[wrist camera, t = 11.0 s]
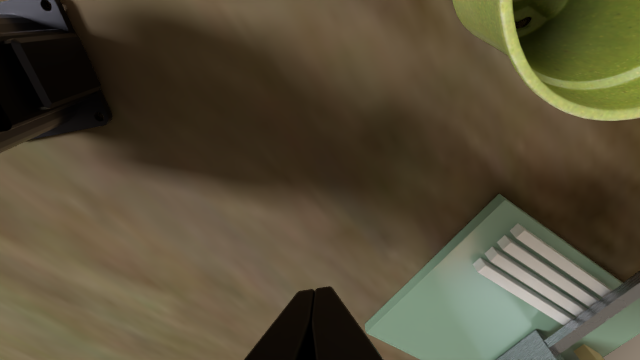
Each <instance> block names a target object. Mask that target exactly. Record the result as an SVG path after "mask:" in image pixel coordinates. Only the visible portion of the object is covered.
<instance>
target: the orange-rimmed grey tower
mask: <svg viewBox="0 0 640 360" xmlns="http://www.w3.org/2000/svg"><path fill="white" fill-rule="evenodd" d="M639 298H640V271H639V272H637V273H636V274H635V275H633V276H632V277H631V278H629V279H628V280H626V281H625V282H624V283H622V284H621V285H620V286H618V287H617V288H615V289H614V290H613V291H611V292H610V293H609V294H607V295H606V296H605V297H603V298H602V299H600V300H599V301H598V302H596V303H595V304H594V305H592V306H591V307H590V308H588V309H587V310H585V311H584V312H583V313H581V314H580V315H579V316H577V317H576V318H575V319H573V320H572V321H570V322H569V323H568V324H566V325H565V326H564V327H562V328H561V329H559V330H558V331H557V332H555V333H554V334H553V335H551V336H550V337H549V338H548V337H547V336H545V335H543V334H541V333H540V332H538V331H536V330H535V331H534V332H532V333H531V334H530V335H528V336H527V337H526V338H524V339H523V340H522V341H520V342H519V343H518V344H516V345H515V346H514V347H512V348H511V349H510V350H508V351H507V352H506V353H504V354H503V355H502V356H500V357H499V358H498V359H496V360H564V359H563V357H562V356H561V354H560V353H562V352H563V351H565V350H566V349H568V348H569V347H570V346H572V345H573V344H575V343H576V342H577V341H579V340H580V339H582V338H583V337H585V336H586V335H587V334H589V333H590V332H592V331H593V330H595V329H596V328H597V327H599V326H600V325H602V324H603V323H605V322H606V321H607V320H609V319H610V318H612V317H613V316H615V315H616V314H617V313H619V312H620V311H622V310H623V309H625V308H626V307H627V306H629V305H630V304H632V303H633V302H634V301H636V300H637V299H639Z"/></svg>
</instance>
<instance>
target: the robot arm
mask: <svg viewBox="0 0 640 360" xmlns="http://www.w3.org/2000/svg"><path fill="white" fill-rule="evenodd" d="M48 1H49V2H50V3H51V5H52V9H51V10H49V9H48V8H47V6H46V2H47V0H8V1H3V2H0V153H1V152H3V151H6V150H8V149H10V148H12V147H14V146H17V145H19V144H21V143H23V142H25V141H27V140H30V139H35V138H40V137H46V136H51V135H56V134H61V133H67V132H72V131H77V130H83V129H88V128H93V127H99V126H103V125H106V124H108V123H109V122H110V121H111V120H112V113H111V111H110V109H109V107H108V104H107V102H106V100H105V98H104V96H103V93H102V91H101V89H100V82H99V80H98V78H97V76H96V74H95V71H94V69H93V67H92V65H91V63H90V60H89V58H88V56H87V54H86V52H85V49H84V47H83V45H82V43H81V40H80V38H79V37H78V36H76V34H75V32H74V30H73V28H72V25H71V23H70V21H69V19H68V17H67V14H66V12H65V10H64V8H63V6H62V3H61V2H60V0H48ZM98 112H99V113H101V114H102V115H103V116H104V119H101V118H100V117H99V116H98ZM244 360H383V358H382V357H381V355H380V354H379V353H378V351H377V350H376V348H375V347H374V346H373V344H372V343H371V341H370V340H369V339H368V337H367V336H366V334H365V333H364V332H363V330H362V329H361V327H360V326H359V325H358V323H357V322H356V320H355V319H354V318H353V316H352V315H351V313H350V312H349V311H348V309H347V308H346V306H345V305H344V304H343V302H342V301H341V299H340V298H339V297H338V295H337V294H336V292H335V291H334V290H333V288H332V287H330V286H329V287H322V288H317V289H316V290H315V291H314V290H313V289H309V290H303V291H299V292H297V293H296V295H295V296H294V297H293V299H292V300H291V301H290V302H289V304H288V305H287V306H286V307H285V309H284V310H283V311H282V312H281V314H280V315H279V316H278V317H277V319H276V320H275V321H274V322H273V324H272V325H271V326H270V328H269V329H268V330H267V331H266V333H265V334H264V335H263V336H262V338H261V339H260V340H259V341H258V343H257V344H256V345H255V346H254V348H253V349H252V350H251V351H250V353H249V354H248V355H247V357H246V358H245V359H244Z"/></svg>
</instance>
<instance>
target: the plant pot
mask: <svg viewBox="0 0 640 360" xmlns="http://www.w3.org/2000/svg"><path fill="white" fill-rule="evenodd" d="M453 5H454V8H455V11H456V14H457V16H458V18H459V19H460V21H461V23H462V24H463V25H464V26H465V28H466V29H468V30H469V31H470V32H471V33H472V34H473V35H475V36H476V37H478V38H479V39H481V40H483V41H484V42H486V43H488V44H490V45H491V46H493V47H495V48H496V49H498V50H500V51H501V52H503V53H505V54H506V55H508V56H509V58H510V60H511V62H512V64H513V66H514V68H515V70H516V72H517V73H518V74H519V76H520V77H521V78H522V80H523V81H524V82H525V84H526V85H527V86H528V87H529V88H530V89H531V90H532V91H533V92H534V93H535V94H536V95H537V96H538V97H540V98H541V99H543V100H544V101H546V102H547V103H549V104H550V105H552V106H554V107H556V108H557V109H559V110H561V111H563V112H566V113H568V114H571V115H574V116H578V117H581V118H585V119H592V120H603V121H618V120H628V119H635V118H640V0H453ZM526 17H531V21H530V22H529V23H528V24H527V25H526V26H524V27H522V28H518V29H516V27H515V22H518V21H521V20H523V19H524V18H526Z"/></svg>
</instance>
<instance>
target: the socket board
mask: <svg viewBox="0 0 640 360" xmlns="http://www.w3.org/2000/svg"><path fill="white" fill-rule="evenodd" d="M622 283H623V282H621V281H620V280H618V279H617V278H616V277H614V276H613V275H611V274H610V273H609V272H607V271H606V270H605V269H603V268H602V267H600V266H599V265H598V264H596V263H595V262H593V261H592V260H591V259H589V258H588V257H586V256H585V255H584V254H582V253H581V252H580V251H578V250H577V249H575V248H574V247H573V246H571V245H570V244H568V243H567V242H566V241H564V240H563V239H562V238H560V237H559V236H557V235H556V234H555V233H553V232H552V231H550V230H549V229H548V228H546V227H545V226H544V225H542V224H541V223H539V222H538V221H537V220H535V219H534V218H532V217H531V216H530V215H528V214H527V213H526V212H524V211H523V210H521V209H520V208H519V207H517V206H516V205H514V204H513V203H512V202H510V201H509V200H507V199H506V198H505V197H503V196H502V195H501V194H498V195H497V196H496V197H495V198H494V199H493V200H492V201H491V202H490V203H489V204H488V205H487V206H486V207H485V208H484V209H483V210H482V211H481V212H480V213H479V214H478V215H477V216H475V217H474V218H473V219H472V220H471V221H470V222H469V223H468V224H467V225H466V226H465V227H464V228H463V229H462V230H461V231H460V232H459V233H458V234H457V235H456V236H455V237H454V238H453V239H452V240H451V241H450V242H449V243H448V244H447V245H446V246H445V247H444V248H443V249H442V250H441V251H440V252H439V253H437V254H436V255H435V256H434V257H433V258H432V259H431V260H430V261H429V262H428V263H427V264H426V265H425V266H424V267H423V268H422V269H421V270H420V271H419V272H418V273H417V274H416V275H415V276H414V277H413V278H412V279H411V280H410V281H409V282H408V283H407V284H406V285H405V286H404V287H403V288H402V289H401V290H400V291H398V292H397V293H396V294H395V295H394V296H393V297H392V298H391V299H390V300H389V301H388V302H387V303H386V304H385V305H384V306H383V307H382V308H381V309H380V310H379V311H378V312H377V313H376V314H375V315H374V316H373V317H372V318H371V319H370V320H369V321H368V322H367V323H366V324H365V329H366V333H367V334H369V335H371V336H373V337H376V338H378V339H380V340H382V341H384V342H386V343H388V344H390V345H392V346H394V347H396V348H398V349H400V350H402V351H404V352H406V353H408V354H410V355H412V356H414V357H416V358H418V359H420V360H496V359H498V358H499V357H500V356H502V355H503V354H504V353H506V352H507V351H508V350H510V349H511V348H512V347H514V346H515V345H516V344H518V343H519V342H520V341H522V340H523V339H524V338H526V337H527V336H528V335H530V334H531V333H532V332H534V331H535V330H536V331H538V332H540V333H541V334H543V335H545V336H547V337H548V338H549V337H550V336H551V335H553V334H554V333H555V332H557V331H558V330H559V329H561V328H562V327H564V326H565V325H566V324H568V323H569V322H570V321H572V320H573V319H575V318H576V317H577V316H579V315H580V314H581V313H583V312H584V311H585V310H587V309H588V308H590V307H591V306H592V305H594V304H595V303H596V302H598V301H599V300H600V299H602V298H603V297H605V296H606V295H607V294H609V293H610V292H611V291H613V290H614V289H615V288H617V287H618V286H620V285H621V284H622ZM639 333H640V298H639V299H637V300H636V301H634V302H633V303H632V304H630V305H629V306H627V307H626V308H625V309H623V310H622V311H620V312H619V313H617V314H616V315H615V316H613V317H612V318H610V319H609V320H607V321H606V322H605V323H603V324H602V325H600V326H599V327H597V328H596V329H595V330H593V331H592V332H590V333H589V334H587V335H586V336H585V337H583V338H582V339H580V340H579V341H577V342H576V343H575V344H573V345H572V346H570V347H569V348H568V349H566V350H565V351H563V352H562V353H560V354H561V356H562V357H563V359H564V360H604V359H603V357H604V356H606V355H608V354H609V353H611V352H612V351H614V350H615V349H616V348H618V347H620V346H621V345H622V344H624V343H625V342H627V341H629V340H630V339H632V338H633V337H635V336H636V335H638V334H639Z"/></svg>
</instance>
